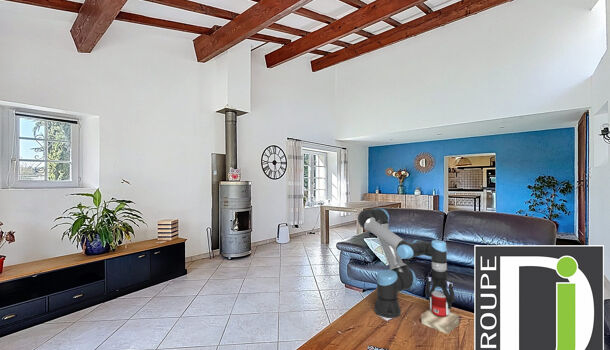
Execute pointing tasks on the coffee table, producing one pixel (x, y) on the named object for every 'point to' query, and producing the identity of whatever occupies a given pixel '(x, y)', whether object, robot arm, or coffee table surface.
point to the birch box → (440, 321)
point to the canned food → (439, 303)
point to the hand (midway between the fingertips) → (439, 311)
